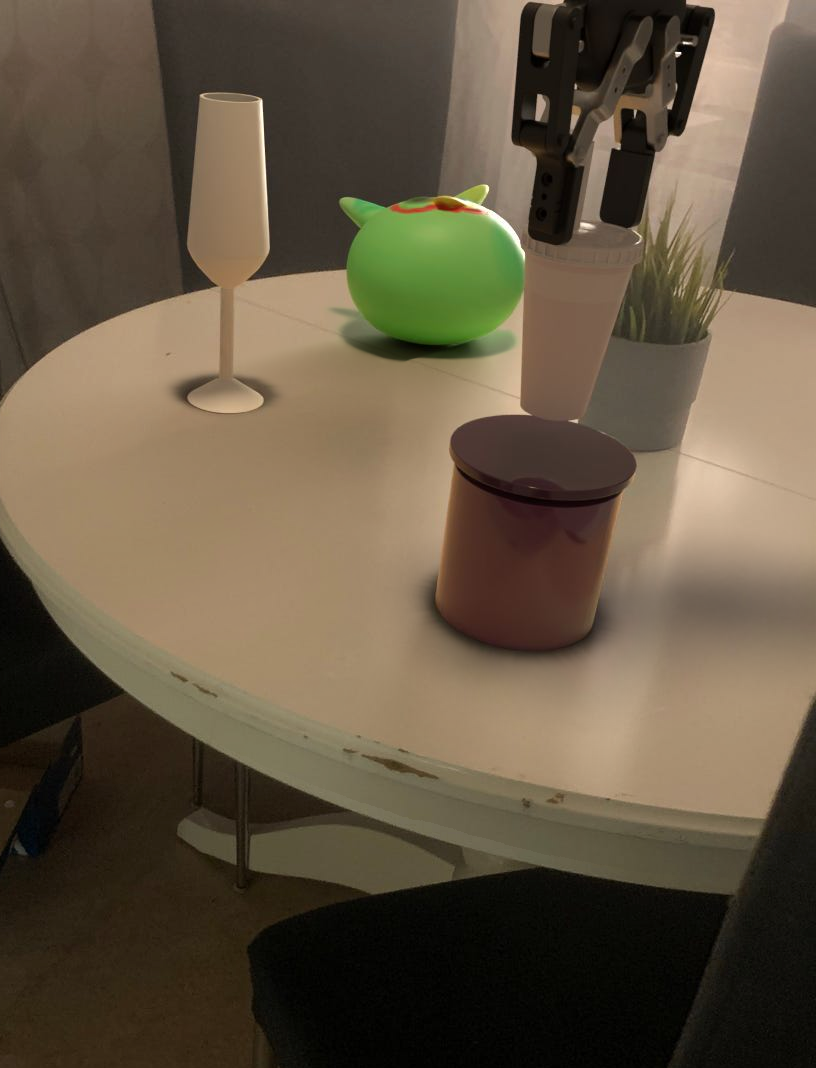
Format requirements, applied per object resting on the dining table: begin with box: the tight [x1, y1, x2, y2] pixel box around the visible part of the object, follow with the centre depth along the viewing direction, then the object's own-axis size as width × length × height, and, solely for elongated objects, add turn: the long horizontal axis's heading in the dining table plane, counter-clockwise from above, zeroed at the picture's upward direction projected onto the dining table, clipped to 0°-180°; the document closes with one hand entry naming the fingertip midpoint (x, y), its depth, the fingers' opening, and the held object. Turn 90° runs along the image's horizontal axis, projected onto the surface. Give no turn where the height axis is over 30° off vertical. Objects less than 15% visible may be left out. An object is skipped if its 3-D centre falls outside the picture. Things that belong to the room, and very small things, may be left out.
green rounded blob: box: [338, 184, 525, 346], centre depth 112 cm, size 18×17×15 cm
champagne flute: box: [186, 92, 271, 414], centre depth 91 cm, size 7×7×24 cm
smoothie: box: [519, 140, 645, 421], centre depth 60 cm, size 6×6×14 cm
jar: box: [434, 414, 638, 651], centre depth 68 cm, size 11×11×11 cm
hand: (585, 231), depth 58 cm, fingers closed on smoothie, 6 cm apart
